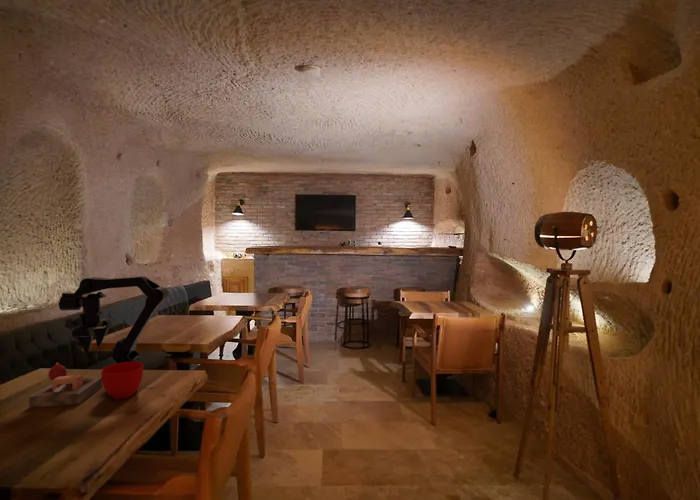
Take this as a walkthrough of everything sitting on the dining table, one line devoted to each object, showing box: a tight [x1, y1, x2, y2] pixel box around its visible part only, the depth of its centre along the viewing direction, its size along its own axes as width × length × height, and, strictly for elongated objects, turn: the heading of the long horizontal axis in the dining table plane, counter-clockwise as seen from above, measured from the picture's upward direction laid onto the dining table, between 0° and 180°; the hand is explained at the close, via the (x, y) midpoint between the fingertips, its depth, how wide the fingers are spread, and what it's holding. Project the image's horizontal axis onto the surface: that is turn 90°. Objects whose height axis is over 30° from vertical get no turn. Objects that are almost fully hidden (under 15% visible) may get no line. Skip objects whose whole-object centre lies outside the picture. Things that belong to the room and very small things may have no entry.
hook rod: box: [53, 383, 72, 394], centre depth 141 cm, size 2×14×2 cm, turn 8°
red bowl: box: [100, 361, 144, 400], centre depth 144 cm, size 13×17×10 cm
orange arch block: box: [51, 374, 84, 392], centre depth 141 cm, size 8×4×6 cm, turn 98°
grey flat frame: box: [28, 376, 103, 408], centre depth 141 cm, size 15×16×4 cm
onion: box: [47, 362, 68, 381], centre depth 155 cm, size 6×6×8 cm
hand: (93, 349), depth 156 cm, fingers open, 9 cm apart
